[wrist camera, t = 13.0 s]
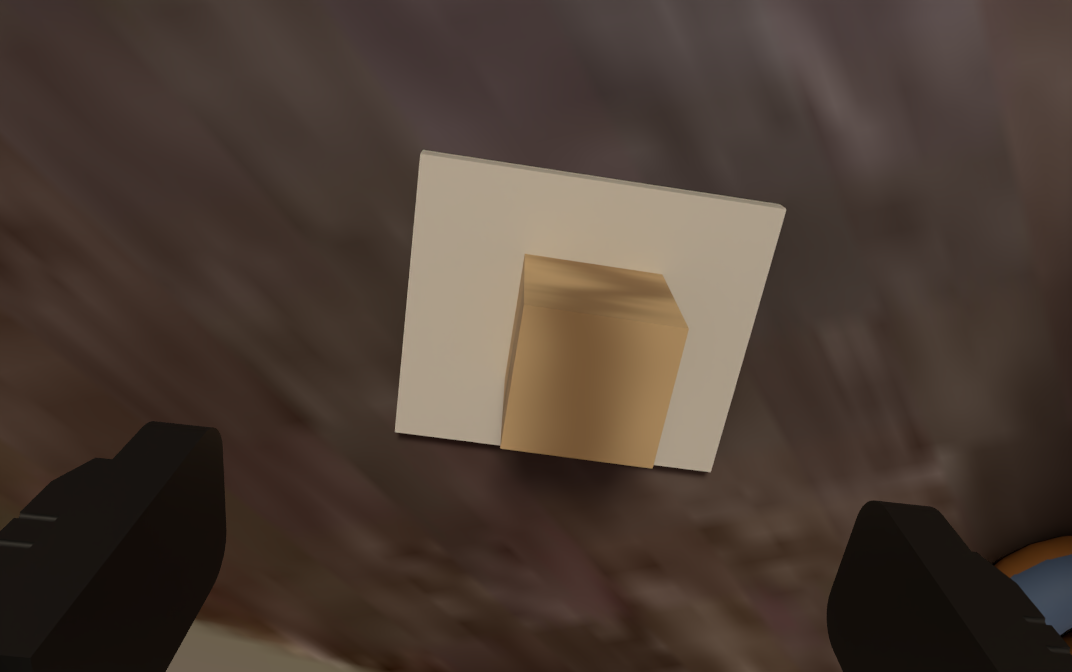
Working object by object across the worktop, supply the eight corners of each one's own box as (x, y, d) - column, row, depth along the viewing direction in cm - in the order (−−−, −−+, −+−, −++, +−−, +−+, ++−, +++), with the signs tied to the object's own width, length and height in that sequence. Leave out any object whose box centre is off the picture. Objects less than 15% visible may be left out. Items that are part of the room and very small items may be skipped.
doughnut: (912, 667, 40) (968, 743, 35) (990, 504, 36) (1063, 566, 32) (1075, 680, 41) (1147, 754, 37) (1164, 526, 38) (1254, 587, 34)
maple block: (662, 274, 30) (689, 328, 25) (633, 396, 32) (652, 468, 27) (524, 253, 30) (523, 304, 25) (504, 378, 32) (499, 448, 27)
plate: (780, 204, 30) (786, 209, 29) (707, 462, 35) (710, 472, 34) (423, 149, 29) (420, 153, 28) (397, 422, 34) (394, 432, 33)
